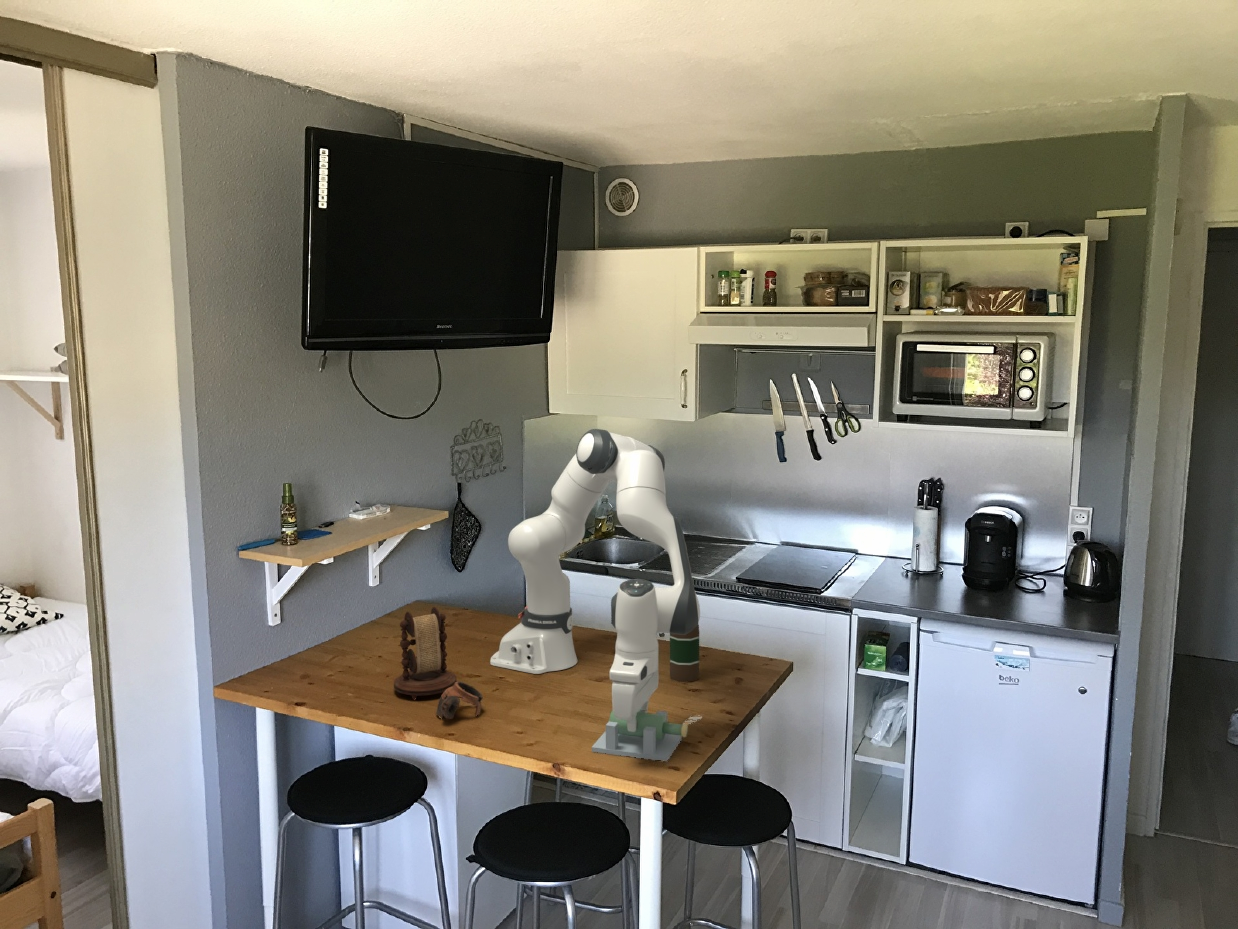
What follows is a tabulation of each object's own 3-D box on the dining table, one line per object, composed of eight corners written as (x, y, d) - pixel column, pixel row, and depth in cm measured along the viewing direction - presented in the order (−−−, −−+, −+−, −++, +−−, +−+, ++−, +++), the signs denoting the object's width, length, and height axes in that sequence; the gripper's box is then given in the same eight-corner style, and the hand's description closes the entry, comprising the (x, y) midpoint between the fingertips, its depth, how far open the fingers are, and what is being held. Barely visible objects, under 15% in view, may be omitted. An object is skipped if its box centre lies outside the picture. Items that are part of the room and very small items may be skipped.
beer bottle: (663, 679, 243) (663, 584, 240) (676, 670, 250) (676, 577, 247) (692, 684, 240) (692, 588, 236) (705, 674, 246) (705, 580, 243)
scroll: (407, 706, 227) (404, 622, 225) (385, 687, 240) (381, 607, 237) (466, 693, 235) (464, 611, 233) (441, 675, 248) (439, 597, 245)
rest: (591, 751, 202) (591, 723, 202) (609, 731, 213) (609, 704, 212) (667, 762, 197) (667, 733, 197) (681, 740, 208) (681, 713, 207)
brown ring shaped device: (441, 708, 228) (458, 676, 228) (475, 729, 226) (492, 698, 226) (421, 714, 216) (439, 681, 216) (456, 737, 214) (475, 704, 214)
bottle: (608, 736, 204) (608, 713, 204) (616, 727, 209) (616, 704, 208) (682, 747, 199) (683, 723, 199) (689, 737, 204) (689, 714, 203)
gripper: (637, 642, 213) (637, 704, 215) (606, 674, 194) (606, 741, 196) (665, 645, 211) (665, 707, 213) (636, 678, 192) (637, 746, 194)
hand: (637, 724), depth 205 cm, fingers closed on bottle, 5 cm apart
